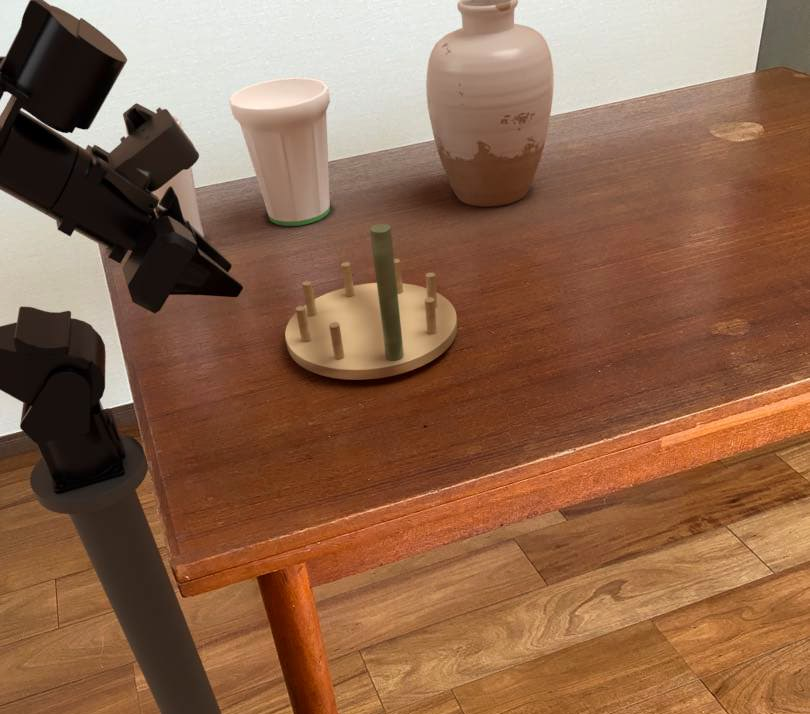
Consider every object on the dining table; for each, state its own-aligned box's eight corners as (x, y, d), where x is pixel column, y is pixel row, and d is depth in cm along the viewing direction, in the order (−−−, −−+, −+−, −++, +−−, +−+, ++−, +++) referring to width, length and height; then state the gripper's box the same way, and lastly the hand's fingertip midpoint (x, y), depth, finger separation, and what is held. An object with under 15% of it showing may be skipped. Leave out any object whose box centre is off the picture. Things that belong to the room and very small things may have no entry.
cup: (359, 216, 118) (343, 93, 107) (272, 241, 114) (247, 116, 104) (324, 187, 126) (306, 70, 116) (242, 210, 123) (216, 92, 112)
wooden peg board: (313, 398, 85) (286, 258, 75) (269, 317, 98) (241, 188, 88) (485, 350, 88) (480, 210, 79) (420, 278, 101) (410, 150, 92)
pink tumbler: (205, 252, 114) (174, 130, 103) (154, 256, 114) (118, 135, 104) (214, 230, 119) (185, 111, 108) (165, 234, 119) (132, 116, 109)
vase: (488, 227, 111) (483, 23, 96) (409, 196, 121) (393, 6, 106) (576, 188, 118) (584, -9, 102) (494, 161, 128) (491, -22, 112)
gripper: (128, 118, 57) (316, 242, 67) (99, 54, 71) (260, 165, 80) (48, 261, 61) (238, 359, 71) (35, 175, 74) (196, 267, 84)
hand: (234, 280), depth 76 cm, fingers open, 4 cm apart
